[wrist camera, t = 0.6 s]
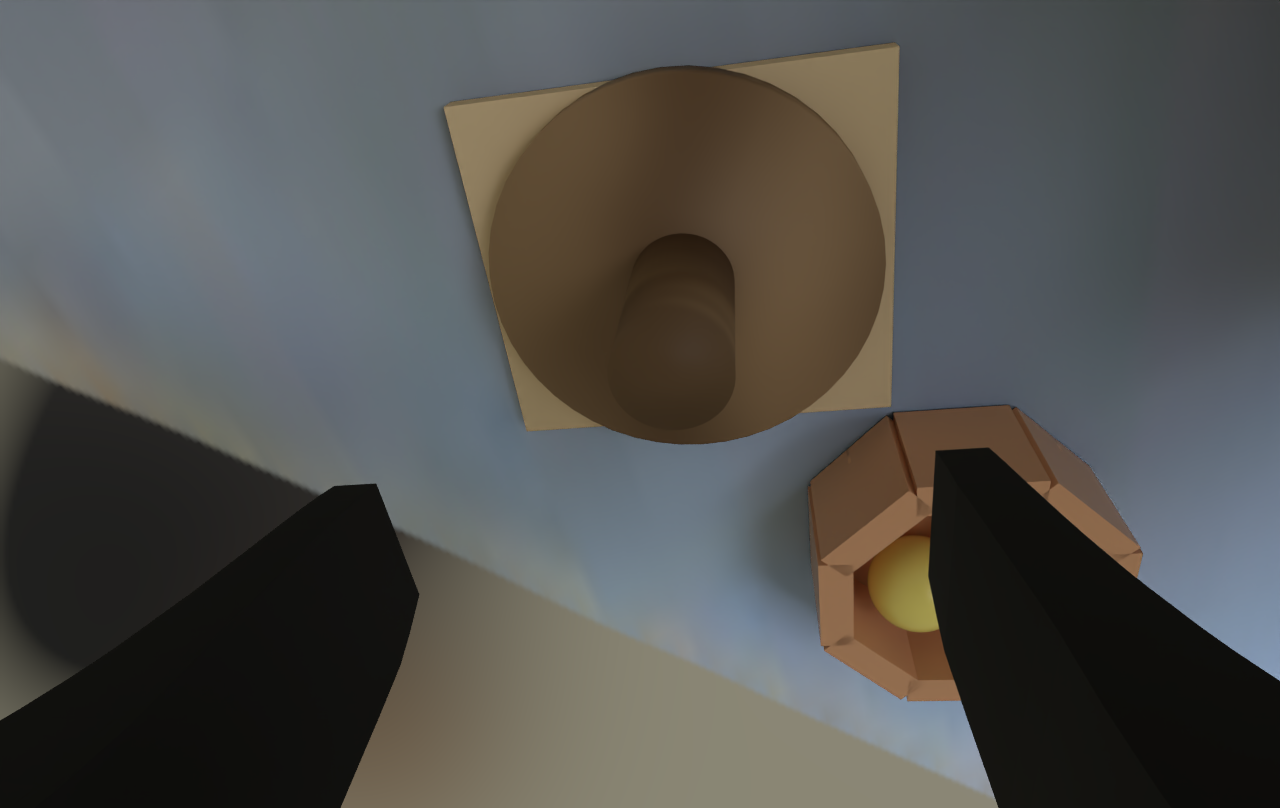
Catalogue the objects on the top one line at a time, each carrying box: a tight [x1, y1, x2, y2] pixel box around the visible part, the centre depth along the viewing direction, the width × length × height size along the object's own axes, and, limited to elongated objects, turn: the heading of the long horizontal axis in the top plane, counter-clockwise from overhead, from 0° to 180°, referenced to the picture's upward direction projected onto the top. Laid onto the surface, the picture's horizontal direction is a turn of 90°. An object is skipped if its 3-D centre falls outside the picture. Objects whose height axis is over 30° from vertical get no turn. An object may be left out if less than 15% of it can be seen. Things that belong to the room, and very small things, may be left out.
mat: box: [444, 42, 899, 431], centre depth 18 cm, size 9×8×1 cm
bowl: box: [808, 405, 1143, 701], centre depth 20 cm, size 7×7×3 cm
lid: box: [489, 65, 886, 444], centre depth 16 cm, size 8×8×5 cm
